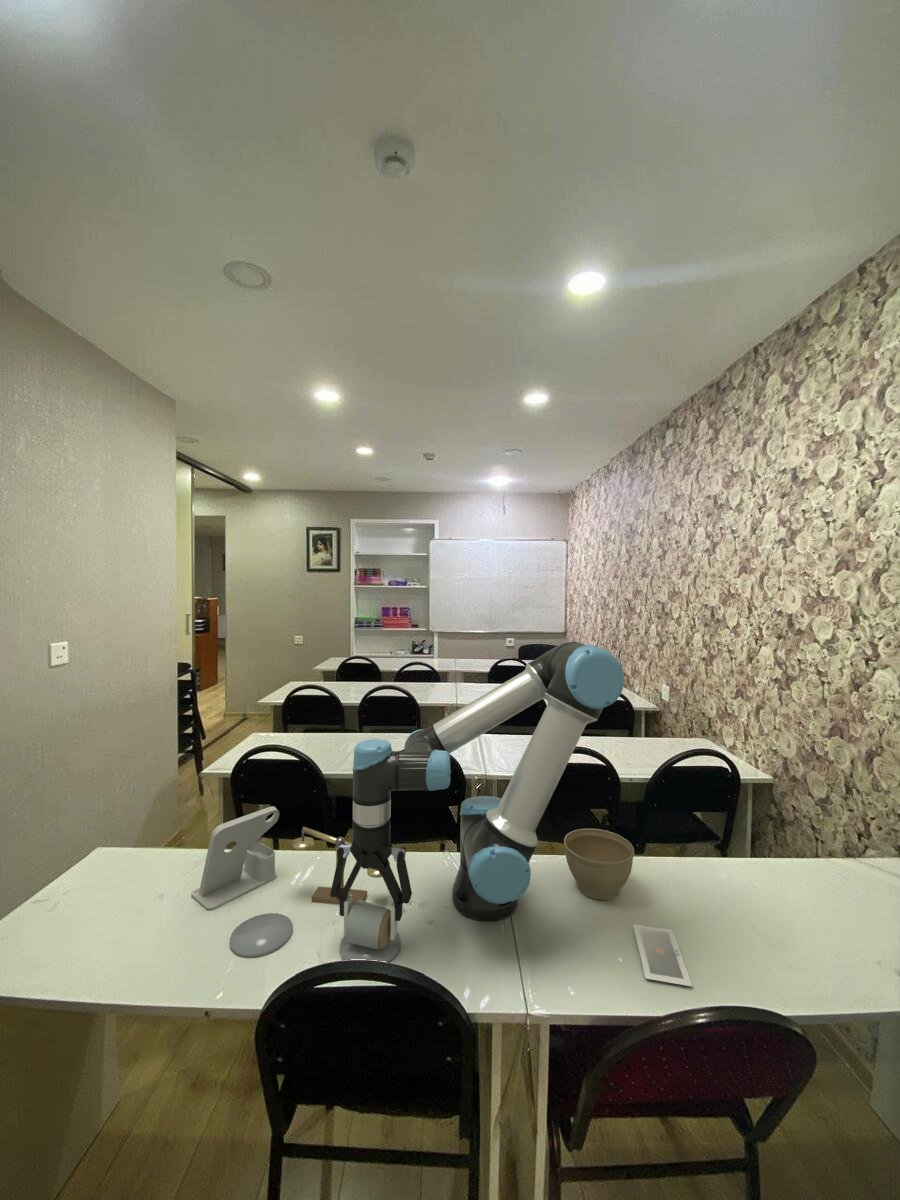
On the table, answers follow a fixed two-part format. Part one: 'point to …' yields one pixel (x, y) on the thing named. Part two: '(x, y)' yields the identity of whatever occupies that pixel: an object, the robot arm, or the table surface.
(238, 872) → the phone holder
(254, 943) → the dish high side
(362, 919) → the ceramic mug
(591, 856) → the planter bowl
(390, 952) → the dish low side
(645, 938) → the touchpad
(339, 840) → the balance
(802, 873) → the table surface
